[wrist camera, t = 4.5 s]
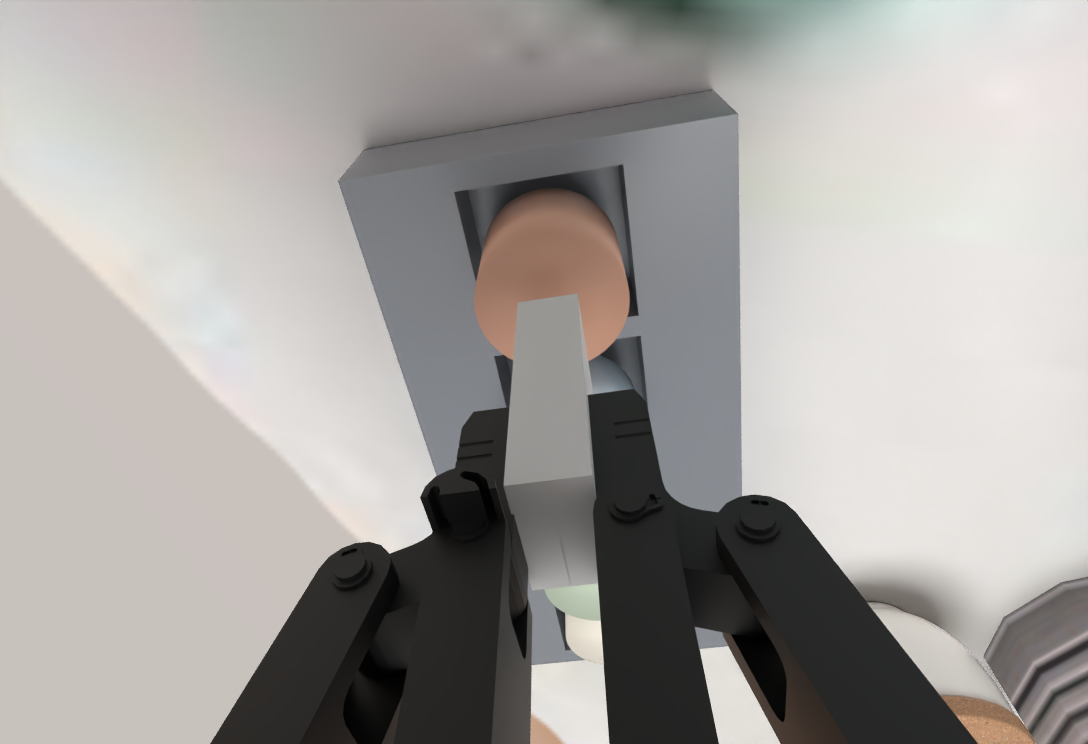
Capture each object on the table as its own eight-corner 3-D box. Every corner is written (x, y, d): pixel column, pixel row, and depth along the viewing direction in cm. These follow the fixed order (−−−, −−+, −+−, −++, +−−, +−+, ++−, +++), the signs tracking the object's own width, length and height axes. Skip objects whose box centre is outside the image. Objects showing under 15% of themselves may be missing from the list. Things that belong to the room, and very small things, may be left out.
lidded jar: (899, 700, 42) (980, 879, 34) (731, 680, 41) (776, 861, 33) (993, 586, 36) (1118, 770, 28) (801, 560, 35) (875, 743, 27)
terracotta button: (470, 200, 21) (457, 243, 18) (610, 177, 21) (621, 218, 18) (498, 322, 24) (491, 378, 21) (625, 304, 23) (636, 358, 20)
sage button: (535, 484, 28) (534, 550, 25) (644, 471, 27) (655, 536, 24) (552, 557, 30) (553, 625, 27) (652, 546, 30) (664, 614, 27)
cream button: (557, 547, 33) (558, 609, 30) (649, 537, 32) (660, 598, 29) (570, 606, 35) (573, 668, 32) (656, 597, 34) (666, 659, 32)
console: (364, 149, 24) (338, 181, 21) (712, 89, 22) (738, 113, 20) (504, 609, 37) (500, 667, 34) (727, 586, 36) (743, 644, 33)
